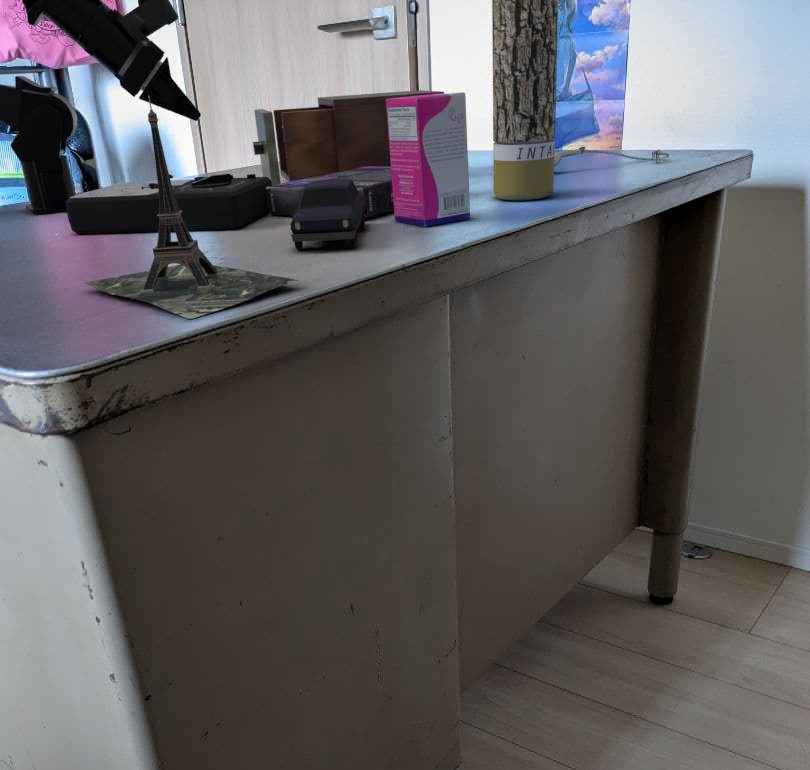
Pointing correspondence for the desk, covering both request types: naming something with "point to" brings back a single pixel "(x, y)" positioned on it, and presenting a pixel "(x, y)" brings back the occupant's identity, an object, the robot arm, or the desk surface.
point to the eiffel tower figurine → (184, 263)
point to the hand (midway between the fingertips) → (199, 117)
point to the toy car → (329, 212)
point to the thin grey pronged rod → (582, 150)
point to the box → (366, 179)
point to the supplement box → (429, 158)
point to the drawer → (296, 143)
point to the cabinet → (363, 127)
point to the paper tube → (524, 97)
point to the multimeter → (197, 199)
